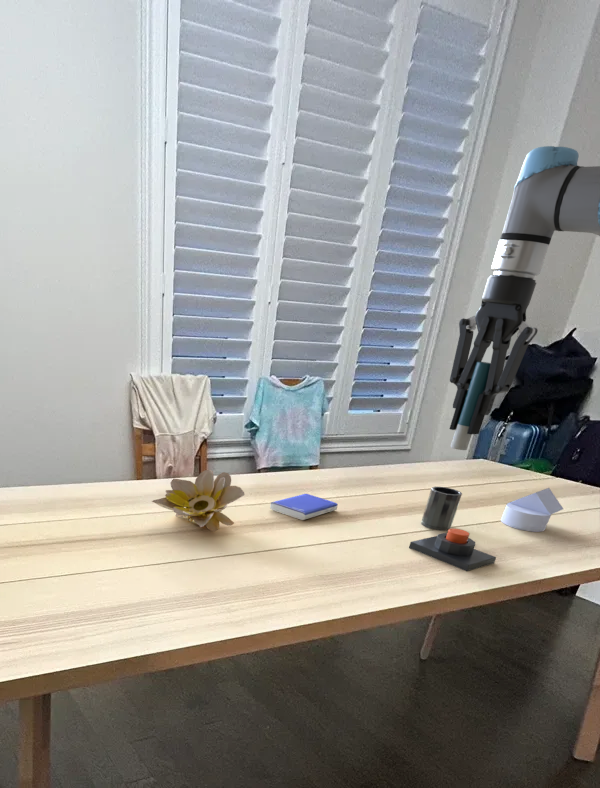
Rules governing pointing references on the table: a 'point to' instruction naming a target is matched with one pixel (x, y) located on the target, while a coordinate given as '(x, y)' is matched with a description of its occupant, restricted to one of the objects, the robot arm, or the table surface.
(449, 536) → the power button
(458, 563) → the station
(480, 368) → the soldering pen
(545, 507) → the wedge on round base
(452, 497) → the pen holder
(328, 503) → the hard drive
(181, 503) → the decorative flower
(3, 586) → the table surface
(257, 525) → the table surface
